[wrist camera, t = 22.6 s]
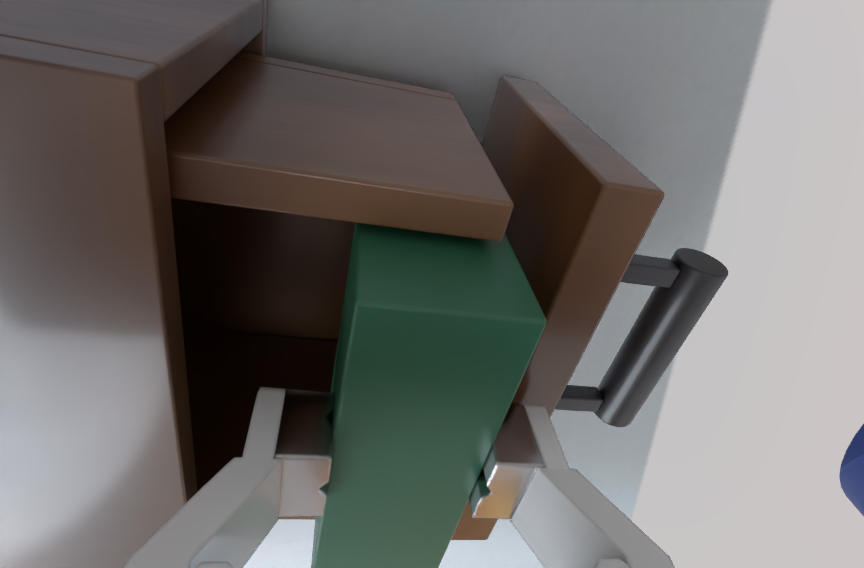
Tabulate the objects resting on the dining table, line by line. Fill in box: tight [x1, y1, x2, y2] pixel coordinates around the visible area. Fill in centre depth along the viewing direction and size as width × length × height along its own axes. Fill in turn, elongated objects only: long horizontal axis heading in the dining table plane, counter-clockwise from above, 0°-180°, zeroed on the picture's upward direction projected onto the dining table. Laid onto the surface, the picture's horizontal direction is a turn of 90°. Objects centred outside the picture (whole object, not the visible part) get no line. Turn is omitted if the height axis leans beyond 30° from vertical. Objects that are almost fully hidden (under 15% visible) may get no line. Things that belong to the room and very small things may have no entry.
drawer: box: [164, 51, 728, 540], centre depth 14 cm, size 18×11×8 cm, turn 78°
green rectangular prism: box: [311, 223, 546, 568], centre depth 11 cm, size 8×3×3 cm, turn 168°
